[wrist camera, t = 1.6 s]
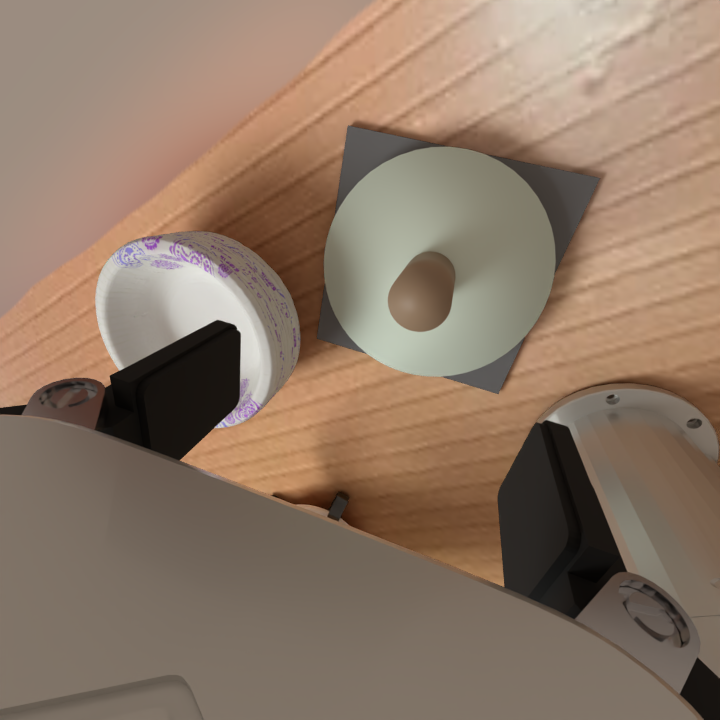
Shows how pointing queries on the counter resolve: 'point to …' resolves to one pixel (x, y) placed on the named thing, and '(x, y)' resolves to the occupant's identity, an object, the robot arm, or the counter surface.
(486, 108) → the counter surface
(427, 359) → the lid
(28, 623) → the robot arm
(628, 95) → the counter surface
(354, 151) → the mat
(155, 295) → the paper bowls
